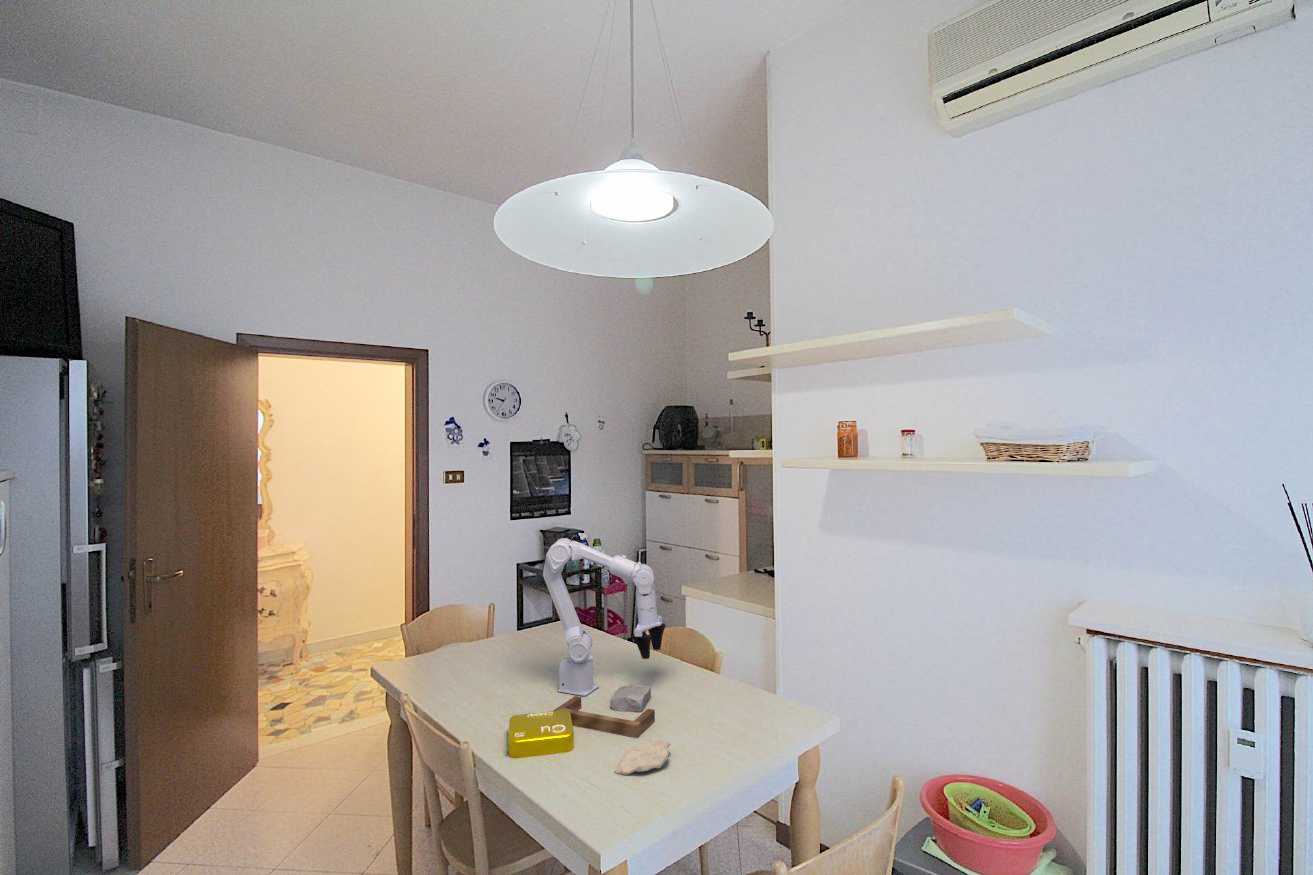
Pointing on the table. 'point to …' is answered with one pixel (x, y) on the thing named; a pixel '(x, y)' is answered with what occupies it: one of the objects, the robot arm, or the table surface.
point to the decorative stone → (643, 758)
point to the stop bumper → (607, 720)
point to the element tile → (540, 734)
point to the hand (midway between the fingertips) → (651, 653)
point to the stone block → (630, 698)
